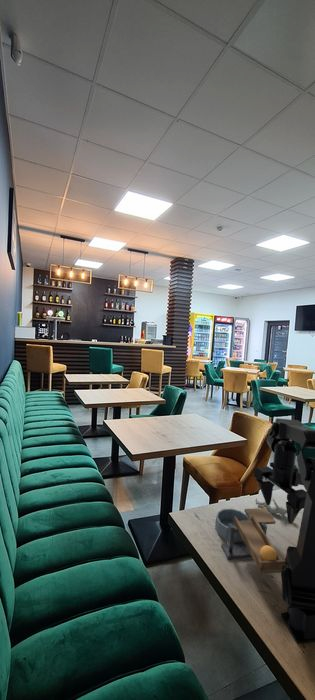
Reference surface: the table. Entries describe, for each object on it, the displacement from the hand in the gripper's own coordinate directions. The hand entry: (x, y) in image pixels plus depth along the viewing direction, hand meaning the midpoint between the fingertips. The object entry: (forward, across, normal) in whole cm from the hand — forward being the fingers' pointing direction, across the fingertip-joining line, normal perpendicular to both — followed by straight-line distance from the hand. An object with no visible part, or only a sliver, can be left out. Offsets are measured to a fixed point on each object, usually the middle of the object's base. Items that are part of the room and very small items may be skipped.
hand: (278, 513), depth 90 cm
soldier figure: (+12, +16, -13) cm, 24 cm away
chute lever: (+6, -1, +6) cm, 9 cm away
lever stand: (+12, +3, +8) cm, 15 cm away
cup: (+12, +12, +7) cm, 18 cm away
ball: (+4, -9, +11) cm, 14 cm away
